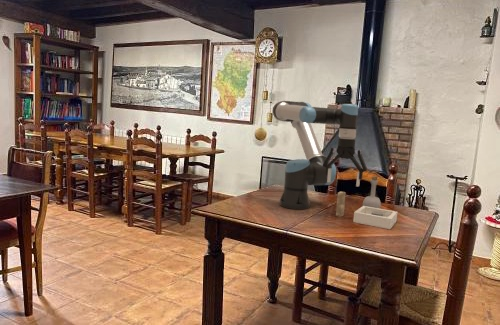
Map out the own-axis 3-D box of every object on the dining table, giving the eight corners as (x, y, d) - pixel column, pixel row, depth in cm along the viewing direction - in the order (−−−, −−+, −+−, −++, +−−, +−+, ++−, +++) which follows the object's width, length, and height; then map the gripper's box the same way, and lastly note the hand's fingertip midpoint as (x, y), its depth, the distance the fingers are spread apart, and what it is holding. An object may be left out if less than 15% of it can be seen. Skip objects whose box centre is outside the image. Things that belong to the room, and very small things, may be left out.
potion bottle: (381, 214, 181) (385, 178, 179) (362, 212, 183) (366, 176, 180) (379, 210, 189) (382, 175, 187) (361, 208, 191) (364, 173, 189)
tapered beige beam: (335, 215, 173) (337, 192, 171) (338, 214, 176) (340, 191, 175) (341, 216, 171) (343, 193, 170) (343, 215, 175) (345, 192, 173)
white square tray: (353, 222, 164) (354, 212, 163) (362, 214, 177) (362, 205, 177) (390, 229, 156) (391, 219, 156) (396, 221, 169) (397, 211, 169)
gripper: (318, 136, 172) (314, 181, 175) (373, 140, 160) (368, 189, 162) (323, 136, 179) (320, 179, 181) (376, 140, 166) (372, 186, 169)
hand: (342, 184), depth 172 cm, fingers open, 13 cm apart
